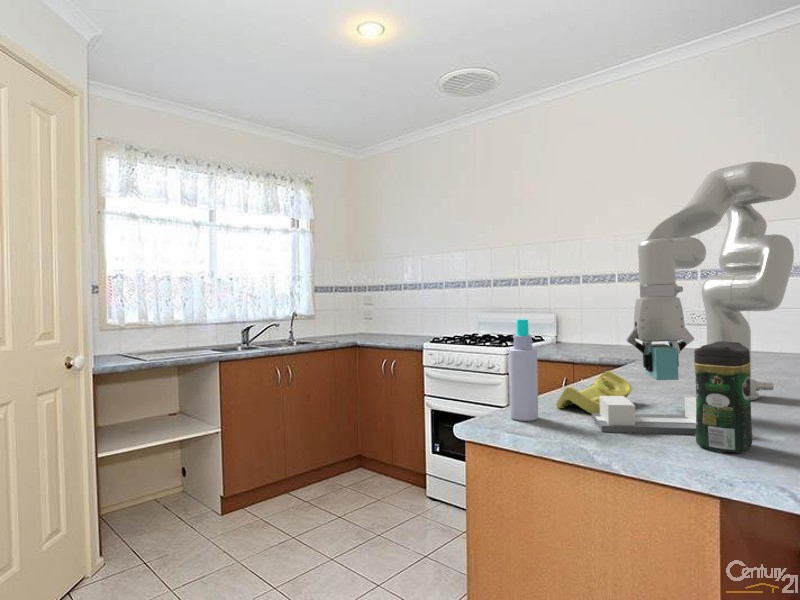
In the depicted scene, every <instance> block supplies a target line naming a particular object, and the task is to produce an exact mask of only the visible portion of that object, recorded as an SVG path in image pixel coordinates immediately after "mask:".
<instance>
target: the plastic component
mask: <svg viewBox="0 0 800 600" xmlns="http://www.w3.org/2000/svg"><path fill="white" fill-rule="evenodd" d="M632 391H633V387H632V385H631V384H630V383H629V382H628V380H625V379H624V378H623V377H621V376H619V375H617V374H616V373H613V372H612V371H610V370H609V371H608V370H607V371H605V372H603V373H602V374H601V375H600V376H599V377H598V378H597V379H596V380H595V381H594V382H592V384H591V385H590V386H588V387H586V388H584V389H582V390H577V389H575V388H574V387H572V386H568V387H566V388H565V389H564V391H563V392H562V394H561V395H560V397H559V398H558V400H557V402H556V404H555V406H556V407H557V408H559V409H563V408H562V407H564V408H566V407H568V405H569V406H570V404H571V405H573V404H575V405H576V406H578V407H579V408H581V409H583V410H584V411H585V412H587V413H589V414H591V415H592V413H600V401H599V396H624V397H626V398H627V397H628V396H629V395H630V394H631V392H632ZM565 406H566V407H565Z"/></svg>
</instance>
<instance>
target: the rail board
mask: <svg viewBox="0 0 800 600" xmlns="http://www.w3.org/2000/svg"><path fill="white" fill-rule="evenodd" d="M599 401H600V413H592V414H591V419H592V418H593V419H594V421H595V422H596V423H595V422H594V421H593V422H594V423H595V425H596V424H597V425H598V426H597V425H596V426H597V428H598V429H599V428H600V429H601V430H600V429H599V430H600V432H601V431H604V432H603V433H623V432H635V433H634V434H657V433H671V434H670V435H691V434H696V396H694V397H692V396H689V397H688V396H685V397H684V414H661V413H660V414H659V413H658V414H656V413H654V414H653V413H652V414H651V413H636V405H635V404H634V403H633V402H632V401H631V400H629V399H628V398H627V397H624V396H599ZM593 419H592V420H593ZM636 432H637V433H636ZM672 433H673V434H672Z"/></svg>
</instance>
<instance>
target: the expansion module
mask: <svg viewBox="0 0 800 600" xmlns="http://www.w3.org/2000/svg"><path fill="white" fill-rule="evenodd" d="M650 355H652V372H649V371H647V370H646V368H644V371H645V372H644V373H645V374H646V375H648V376H650V377H651V378H653V379H654V380H655V381H679V378H680V377H679V367H678V359H679V354H678V353H677V348H674V347H672V346H669V344H666V343H652V344H651V348H650Z"/></svg>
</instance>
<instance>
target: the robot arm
mask: <svg viewBox="0 0 800 600" xmlns="http://www.w3.org/2000/svg"><path fill="white" fill-rule="evenodd" d="M796 177H797V176H796V175H795V173H794V171H793V169H791V168H790V167H789V166H787V165H785V164H780V163H779V164H778V163H773V162H766V161H765V162H764V161H749V162H744V163H739V164H735V165H731V166H725V167H722V168H719V169H718V168H717V169H715V170H713V171H711V172H710V173H709V174H707V175H706V176H705V177H704V179H703V180H702V182H701V183H700V185H699V187H698V188H697V189H696V192H695V193H694V194H693V196H692V197H691V198H690V200H689V201H688V203H687V204H686V206H683V207H682V208H680V209H679V210H677V211H676V212H674V213H673V214H671V215H670V216H669V217H667V218H665V219H664V220H662V221H661V222H660V223H658V224H657V225H656V226H655V227H654V228H653V229H652V230H651V232H650V233H649V234H648V235H647V237H646V238H645V239H644V240H641V241H640V242H639V243H638V246H637V247H638V248H637V251H638V252H637V255H638V276H639V277H638V279H639V280H638V281H639V298H637V299H636V300H635V306H634V317H633V329H632V331H631V332H630V334H628V337H627V338H626V342H627V343H628V344H630V345H632V346H633V347H635V348H636V349H637V350H638V351H639V352H641V353H642V364H643V365H642V366H643V368H644V369H645V368H646V370H647V371H649V372H652V355H650V348H651V344H653V343H654V342H667V343H668V345H669V346H672V347H674V348H677V353H678V355H679V354H681V351H683V349H685V347H687V346H688V345H689V344H690V343H692V342H693V341H695V337H694V336H693V334H692V333H690V332H689V330H688V329H687V328H686V324H685V316H684V315H685V314H684V311H683V305H682V302H681V298H680V297H677V296H678V294H679V293H683V292H684V287H683V286H682V285H681V286H680V285H678V284H677V282H676V281H677V279H676V271H677V270H691V269H694V268H697V267H699V266H700V265H701V264H702V263H703V262H704V261H705V260H706V257H707V249H706V245H705V244H704V243H703V241H701V240H700V239H698V238H696V237H695V236H697V235H699V234H701V233H705V232H706V231H708V230H711V229H712V228H714V227H716V226H718V225H719V223H720V222H721V221H722V219H723V218H724V216H725V214H726V217H727V221H728V226H727V230H726V233H725V237H724V239H723V243H722V246H721V249H720V252H719V257H718V264H719V267H720V269H721V270H722V271H724V272H726V273H719V274H716V275H712V276H709V277H708V278H706V280H705V281H704V282H703V284H702V286H701V297H702V302H703V307H704V312H705V319H706V320H705V321H706V345H708V344H712V343H715V342H719V341H725V342H737V343H740V344H741V345H743V346H745V347H746V348H748V349H749V353H750V397H751V401H754V400H758V399H759V398H760V394H759V391H762V390H764V391H773V390H774V388H775V387H774V383H773V382H766V381H765V382H762V381H757V380H756V379H754V378H752V345H751V344H752V343H751V341H752V339H751V338H752V337H751V334H752V331H751V326H750V324H749V322H748V320H747V319H746V317H745V316H744V315H743V314H742V312H770V311H775V310H776V309H777V308H779V306H780V305H781V304H782V302H783V299H784V297H785V292H786V290H787V286H788V283H789V279H790V275H791V271H792V269H793V265H794V260H795V252H794V251H795V250H794V247H793V243H792V241H791V240H790V238H788V237H787V236H785V235H784V234H783V235H782V234H775V233H774V234H773V233H771V234H766V231H767V227H768V223H767V221H766V219H765V218H764V217H763V215H762V214H761V213H760V212H759V211H757V209H755V208H754V207H753V206H752V205H753V204H754V205H755V204H761V203H767V202H773V201H774V202H775V201H779V200H783V199H787V198H788V197H790V196H791V195H792V194H793V192H794V191H795V190H796V186H797V178H796ZM693 236H694V237H693ZM637 340H640V342H641V341H642V343H640V342H638V341H637ZM679 361H680V359H679V358H678V368H679V366H680V363H679Z"/></svg>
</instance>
